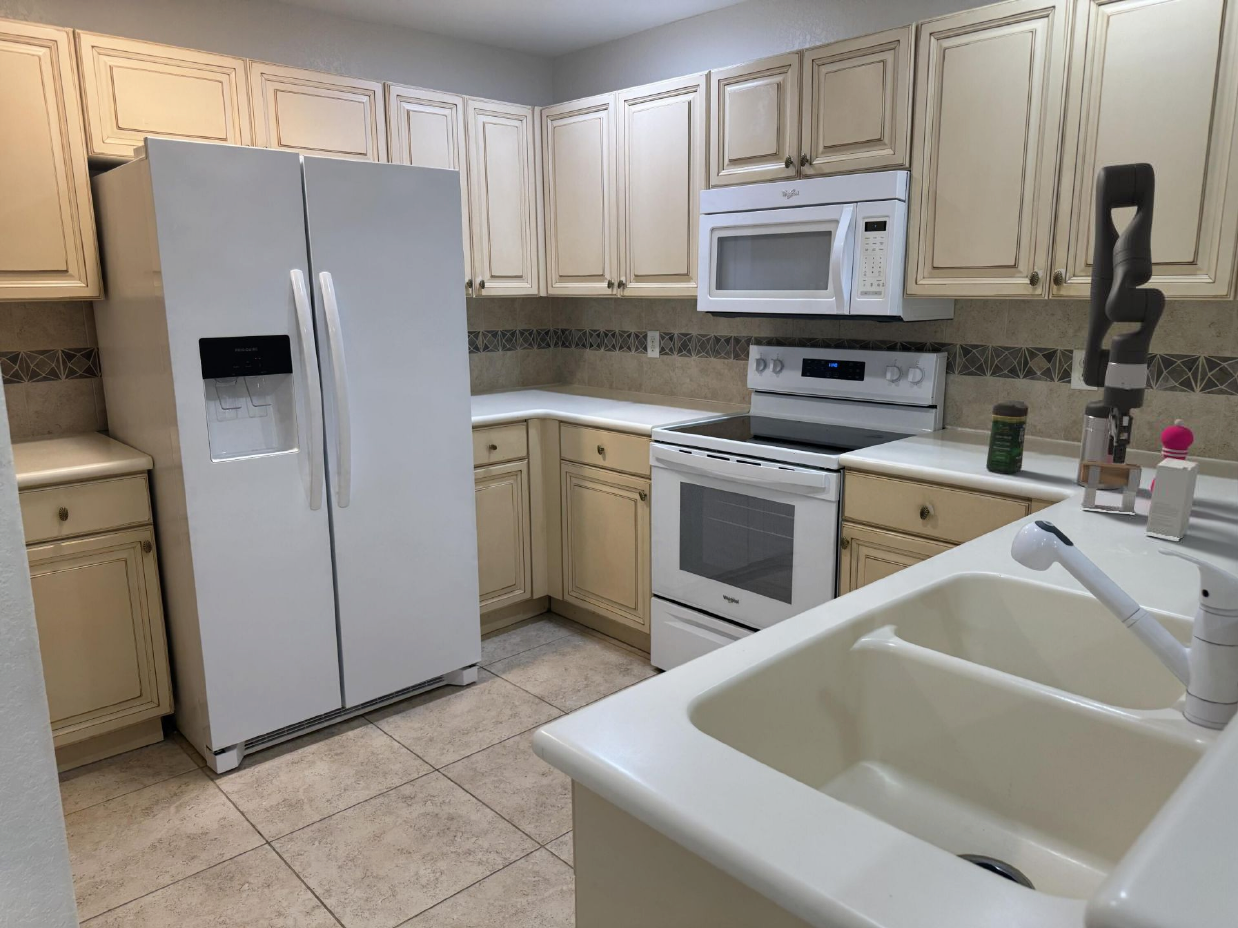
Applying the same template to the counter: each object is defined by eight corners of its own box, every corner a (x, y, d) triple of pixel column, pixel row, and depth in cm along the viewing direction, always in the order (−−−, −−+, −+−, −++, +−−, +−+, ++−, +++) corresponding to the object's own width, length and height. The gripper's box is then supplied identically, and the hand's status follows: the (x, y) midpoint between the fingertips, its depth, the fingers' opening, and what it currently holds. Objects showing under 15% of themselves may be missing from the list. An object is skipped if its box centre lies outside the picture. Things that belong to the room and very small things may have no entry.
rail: (1079, 478, 191) (1082, 461, 190) (1137, 483, 187) (1139, 465, 186) (1081, 482, 188) (1083, 464, 187) (1139, 487, 184) (1141, 468, 183)
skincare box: (1154, 528, 176) (1164, 456, 173) (1189, 534, 172) (1200, 461, 169) (1144, 536, 170) (1154, 463, 167) (1180, 543, 166) (1191, 467, 163)
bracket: (1080, 505, 194) (1085, 460, 191) (1131, 510, 190) (1137, 464, 187) (1083, 512, 187) (1088, 466, 185) (1135, 517, 184) (1142, 470, 181)
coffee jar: (1013, 475, 222) (1020, 404, 218) (982, 471, 227) (988, 401, 224) (1025, 469, 229) (1033, 400, 225) (995, 465, 234) (1001, 397, 231)
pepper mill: (1150, 502, 196) (1163, 415, 192) (1188, 507, 192) (1201, 418, 188) (1145, 508, 191) (1157, 419, 187) (1183, 514, 186) (1197, 423, 182)
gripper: (1100, 379, 190) (1092, 451, 194) (1109, 387, 178) (1099, 464, 181) (1140, 380, 188) (1130, 453, 191) (1151, 389, 175) (1140, 467, 178)
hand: (1115, 458), depth 186 cm, fingers open, 8 cm apart
